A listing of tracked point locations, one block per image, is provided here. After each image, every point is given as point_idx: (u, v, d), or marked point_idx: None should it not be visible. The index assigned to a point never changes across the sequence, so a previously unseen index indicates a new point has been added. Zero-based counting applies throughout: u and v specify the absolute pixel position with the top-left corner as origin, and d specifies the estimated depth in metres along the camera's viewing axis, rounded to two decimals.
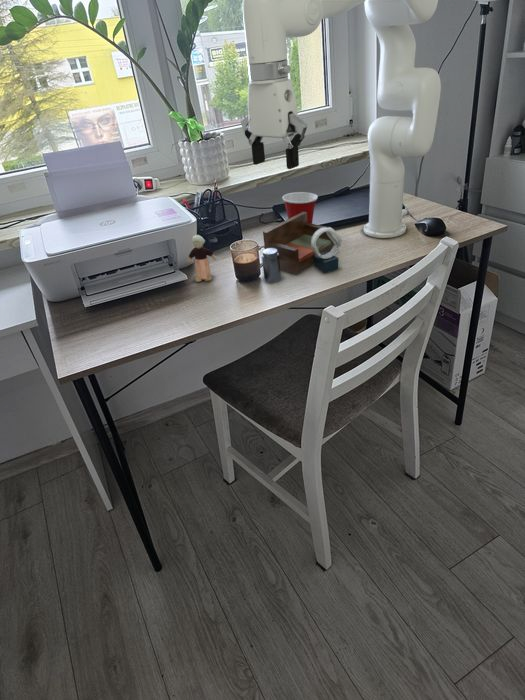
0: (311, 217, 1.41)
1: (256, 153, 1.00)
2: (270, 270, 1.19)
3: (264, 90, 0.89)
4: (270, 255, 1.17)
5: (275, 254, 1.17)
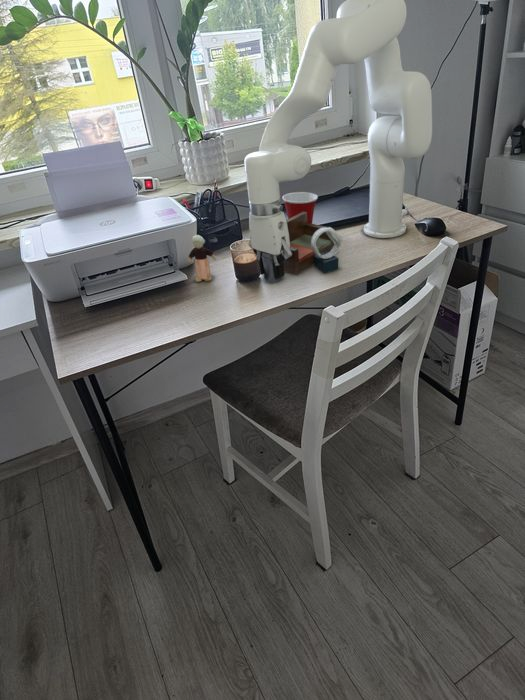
0: (311, 217, 1.41)
1: None
2: (270, 270, 1.19)
3: (262, 221, 1.11)
4: (270, 255, 1.17)
5: None
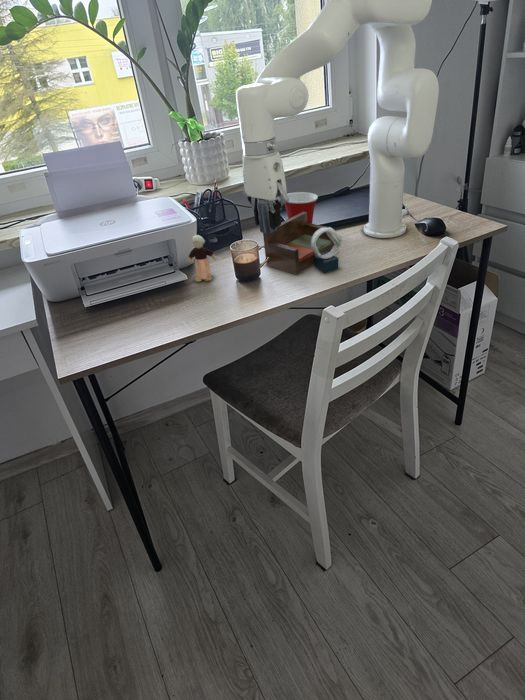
0: (311, 217, 1.41)
1: None
2: (266, 219, 1.11)
3: (256, 162, 1.03)
4: (265, 202, 1.09)
5: None
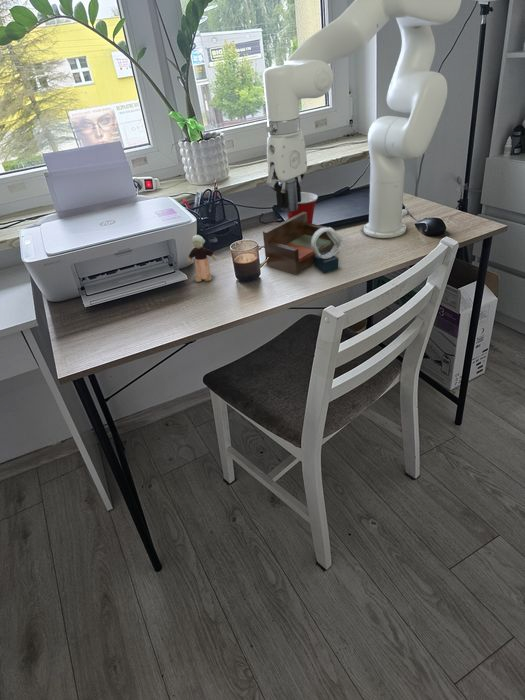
0: (311, 217, 1.41)
1: None
2: None
3: None
4: None
5: None
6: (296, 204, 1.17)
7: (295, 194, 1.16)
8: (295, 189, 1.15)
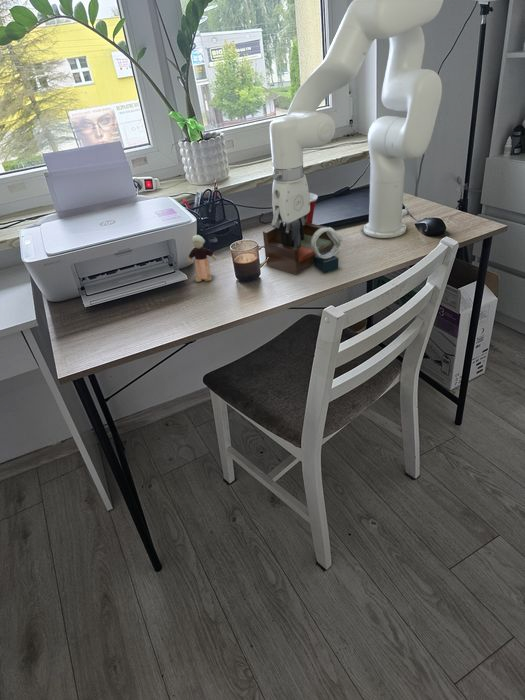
0: (311, 217, 1.41)
1: None
2: None
3: None
4: None
5: None
6: (299, 243, 1.24)
7: (298, 234, 1.22)
8: (299, 229, 1.22)
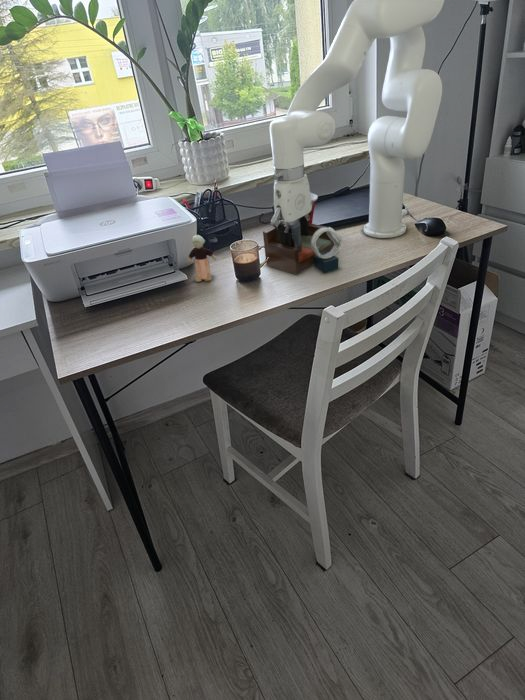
0: (311, 217, 1.41)
1: None
2: None
3: None
4: None
5: None
6: (300, 247, 1.25)
7: (299, 238, 1.23)
8: (300, 233, 1.23)
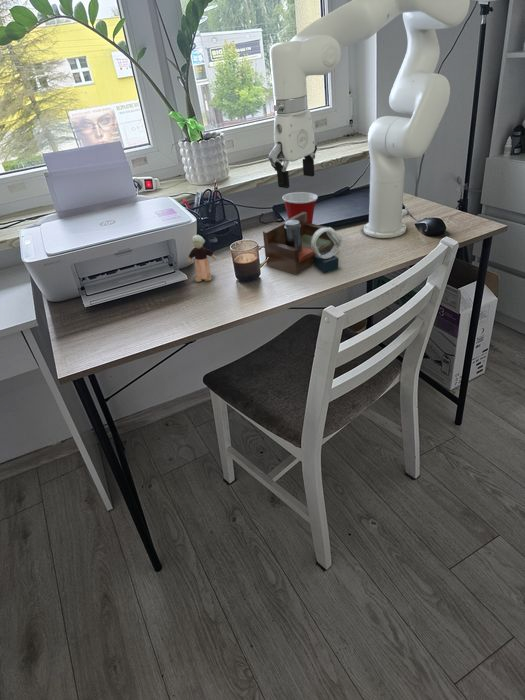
0: (311, 217, 1.41)
1: (304, 166, 1.18)
2: (285, 238, 1.25)
3: None
4: (285, 224, 1.22)
5: (287, 226, 1.21)
6: (300, 247, 1.25)
7: (299, 238, 1.23)
8: (300, 233, 1.23)
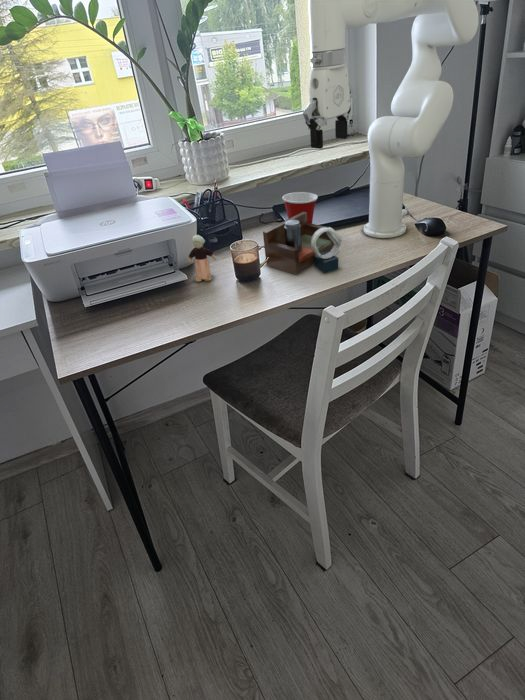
0: (311, 217, 1.41)
1: (337, 128, 1.13)
2: (285, 238, 1.25)
3: None
4: (285, 224, 1.22)
5: (287, 226, 1.21)
6: (300, 247, 1.25)
7: (299, 238, 1.23)
8: (300, 233, 1.23)
